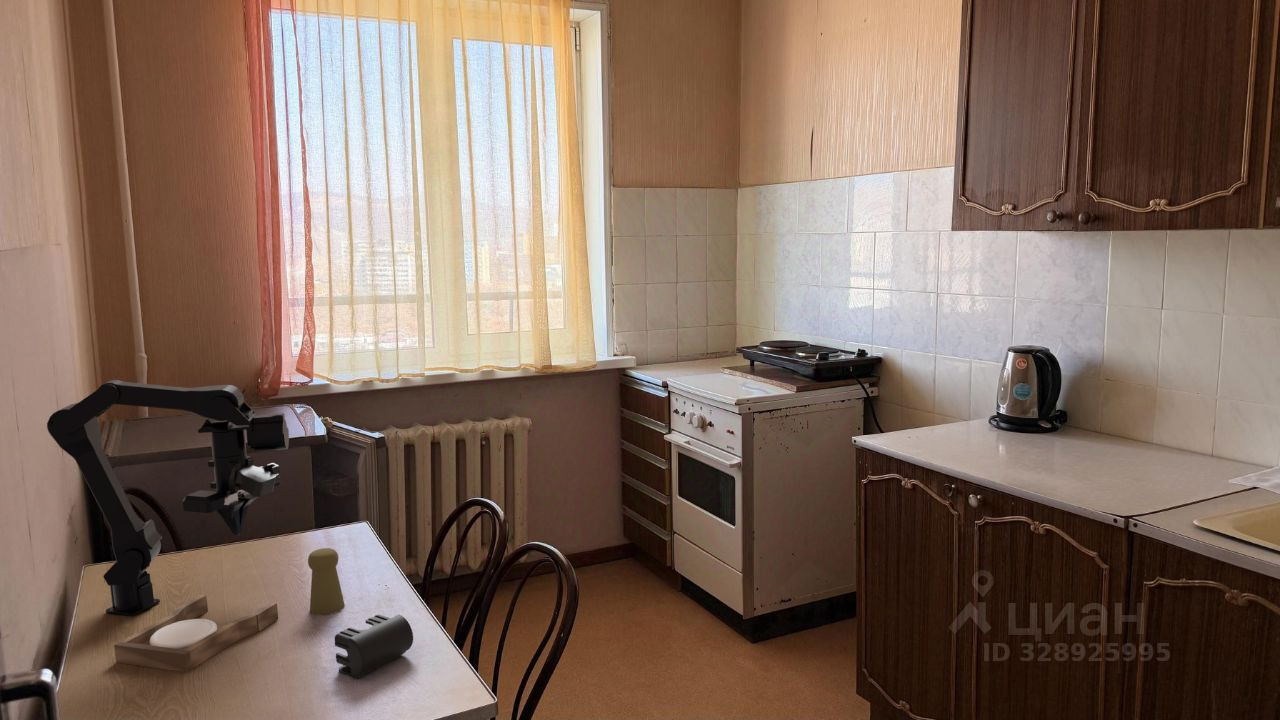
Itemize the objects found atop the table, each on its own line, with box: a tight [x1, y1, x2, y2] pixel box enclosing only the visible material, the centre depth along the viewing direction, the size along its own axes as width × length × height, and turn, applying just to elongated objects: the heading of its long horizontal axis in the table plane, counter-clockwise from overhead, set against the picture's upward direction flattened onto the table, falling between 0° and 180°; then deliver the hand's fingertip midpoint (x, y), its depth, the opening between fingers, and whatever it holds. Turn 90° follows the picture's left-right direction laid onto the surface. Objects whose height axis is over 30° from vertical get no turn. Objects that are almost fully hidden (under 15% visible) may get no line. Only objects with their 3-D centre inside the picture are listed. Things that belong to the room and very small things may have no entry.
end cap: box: [334, 614, 414, 679], centre depth 139 cm, size 10×7×7 cm
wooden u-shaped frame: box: [113, 594, 279, 673], centre depth 150 cm, size 20×16×3 cm
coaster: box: [150, 618, 218, 650], centre depth 147 cm, size 10×10×4 cm
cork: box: [307, 547, 346, 616], centre depth 161 cm, size 6×6×11 cm
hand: (237, 534), depth 167 cm, fingers closed
